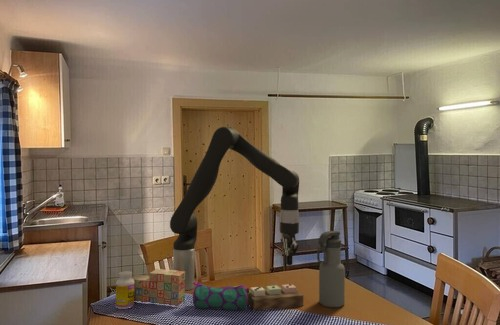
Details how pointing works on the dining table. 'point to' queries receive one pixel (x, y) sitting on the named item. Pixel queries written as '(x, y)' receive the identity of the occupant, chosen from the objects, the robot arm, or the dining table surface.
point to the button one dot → (273, 290)
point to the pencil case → (220, 297)
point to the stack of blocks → (160, 287)
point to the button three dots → (257, 291)
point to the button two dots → (288, 288)
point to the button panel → (275, 300)
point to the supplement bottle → (125, 290)
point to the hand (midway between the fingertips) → (289, 264)
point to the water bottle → (331, 271)
